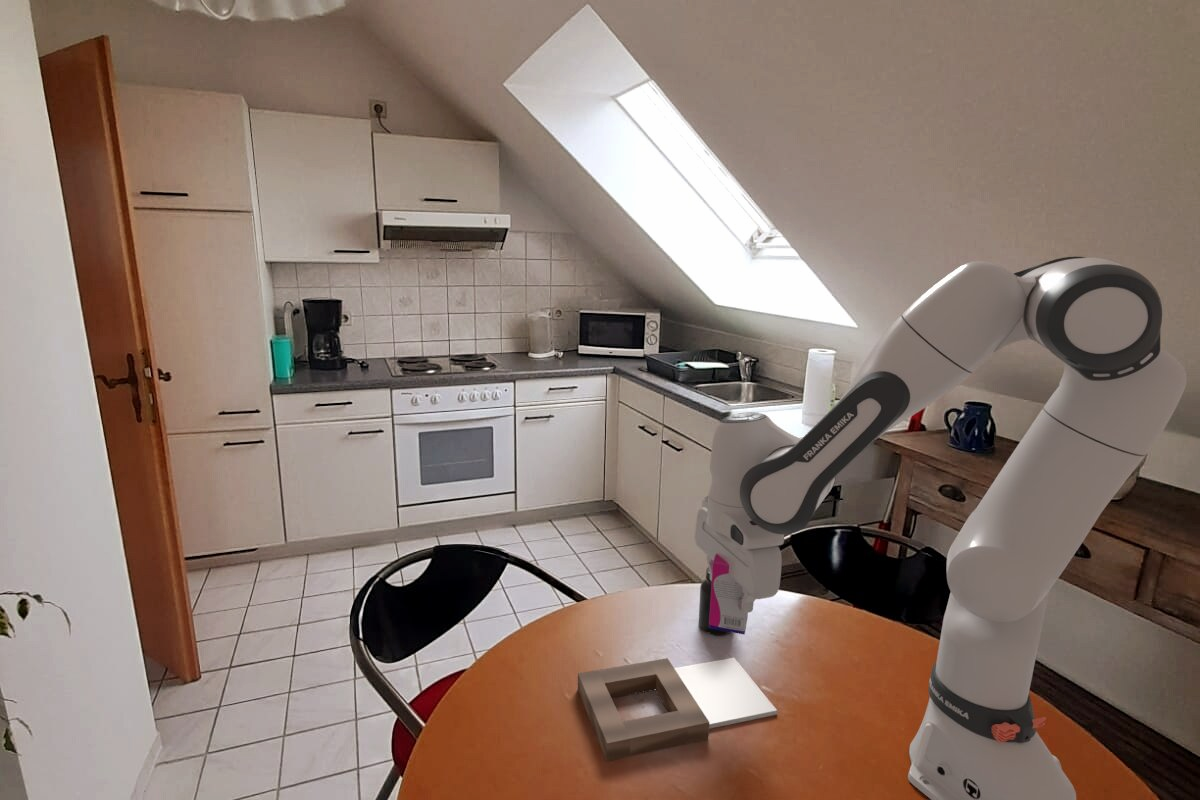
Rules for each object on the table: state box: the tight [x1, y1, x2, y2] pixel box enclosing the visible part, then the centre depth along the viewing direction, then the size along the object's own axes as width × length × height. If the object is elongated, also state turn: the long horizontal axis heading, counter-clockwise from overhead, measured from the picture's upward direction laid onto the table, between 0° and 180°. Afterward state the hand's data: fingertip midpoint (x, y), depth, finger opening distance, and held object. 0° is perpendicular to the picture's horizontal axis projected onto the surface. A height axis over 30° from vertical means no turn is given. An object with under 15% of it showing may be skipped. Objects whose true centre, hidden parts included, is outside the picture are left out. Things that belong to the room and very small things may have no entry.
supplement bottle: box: [698, 566, 731, 636], centre depth 123 cm, size 7×7×12 cm
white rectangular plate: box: [674, 657, 778, 730], centre depth 105 cm, size 14×12×1 cm
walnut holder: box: [577, 657, 710, 762], centre depth 100 cm, size 16×16×3 cm
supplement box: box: [709, 554, 749, 635], centre depth 101 cm, size 6×6×12 cm
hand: (730, 595), depth 101 cm, fingers closed on supplement box, 8 cm apart
